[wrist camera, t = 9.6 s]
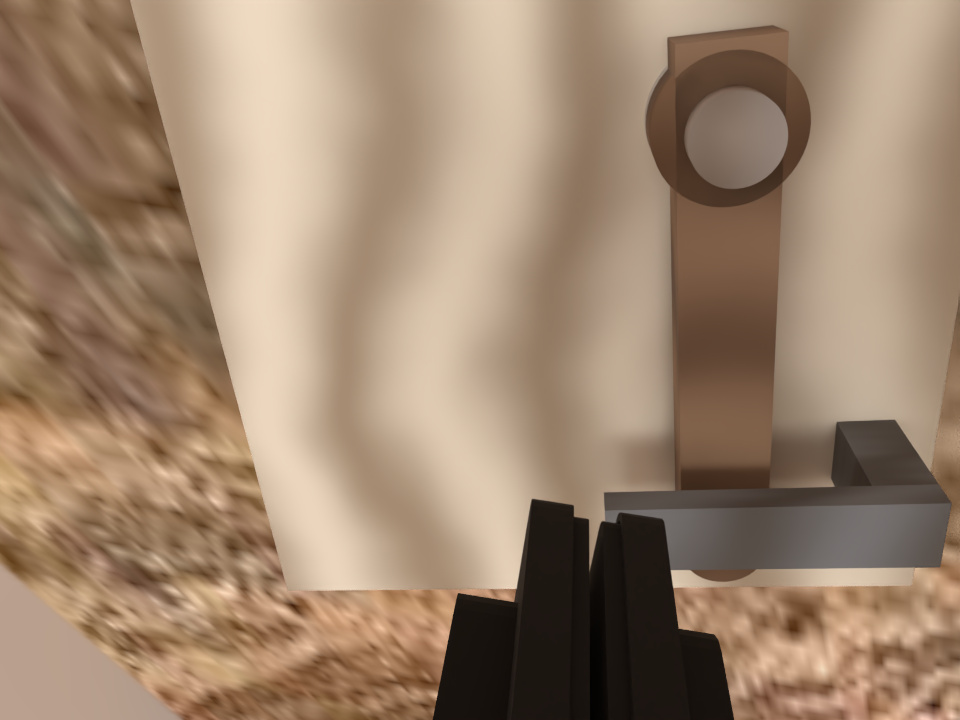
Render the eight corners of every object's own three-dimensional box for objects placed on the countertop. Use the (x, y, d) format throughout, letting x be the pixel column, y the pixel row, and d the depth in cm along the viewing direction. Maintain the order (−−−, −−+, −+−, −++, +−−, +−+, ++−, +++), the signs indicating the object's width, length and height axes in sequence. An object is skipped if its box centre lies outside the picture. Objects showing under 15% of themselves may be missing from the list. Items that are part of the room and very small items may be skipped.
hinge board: (1013, -139, 23) (1148, -165, 17) (902, 568, 34) (964, 686, 28) (136, -34, 26) (25, -28, 21) (294, 575, 37) (247, 680, 32)
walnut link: (643, 40, 24) (648, 47, 23) (798, 22, 24) (816, 28, 22) (658, 548, 33) (663, 583, 31) (773, 545, 32) (785, 580, 30)
